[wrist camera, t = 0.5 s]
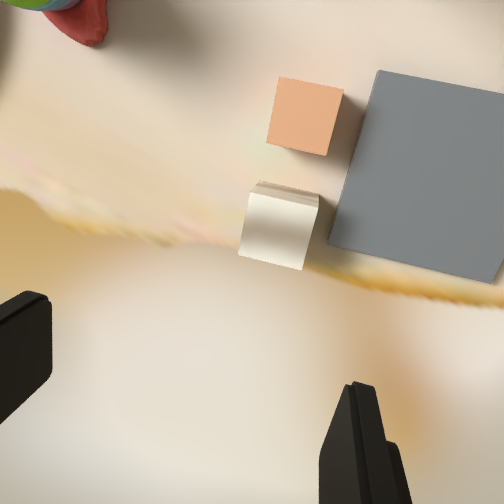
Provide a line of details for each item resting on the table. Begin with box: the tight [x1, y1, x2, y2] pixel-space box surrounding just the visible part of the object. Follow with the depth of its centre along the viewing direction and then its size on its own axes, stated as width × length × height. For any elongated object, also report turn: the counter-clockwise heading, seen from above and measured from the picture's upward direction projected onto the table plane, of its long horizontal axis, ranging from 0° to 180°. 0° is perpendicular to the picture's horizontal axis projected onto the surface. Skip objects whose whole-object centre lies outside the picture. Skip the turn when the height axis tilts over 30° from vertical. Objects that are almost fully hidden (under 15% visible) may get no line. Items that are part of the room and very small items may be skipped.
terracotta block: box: [266, 77, 344, 156], centre depth 33 cm, size 6×6×5 cm
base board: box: [328, 70, 504, 284], centre depth 35 cm, size 17×17×2 cm
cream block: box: [238, 181, 319, 270], centre depth 37 cm, size 6×6×6 cm
